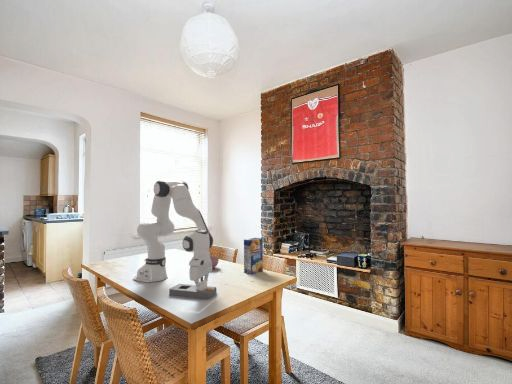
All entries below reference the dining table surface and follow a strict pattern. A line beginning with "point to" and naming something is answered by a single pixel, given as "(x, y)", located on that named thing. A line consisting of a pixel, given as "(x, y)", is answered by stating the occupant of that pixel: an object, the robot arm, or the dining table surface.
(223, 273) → the dining table surface
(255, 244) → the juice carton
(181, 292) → the power strip
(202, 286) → the plug
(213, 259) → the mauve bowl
